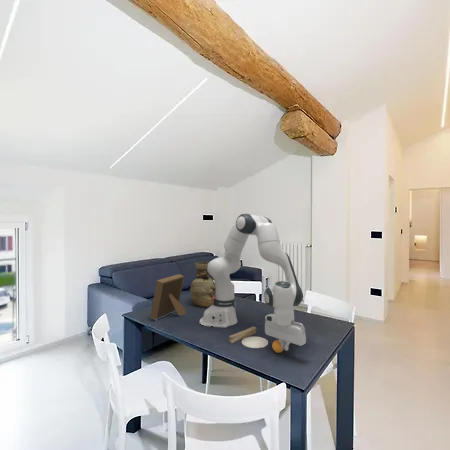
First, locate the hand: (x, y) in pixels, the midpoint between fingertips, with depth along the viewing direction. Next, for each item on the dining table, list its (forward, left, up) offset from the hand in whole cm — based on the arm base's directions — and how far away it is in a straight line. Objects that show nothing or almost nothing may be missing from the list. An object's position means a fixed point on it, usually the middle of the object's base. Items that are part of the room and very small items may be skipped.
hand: (285, 349), depth 129 cm
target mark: (-13, +13, -3) cm, 18 cm away
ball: (-3, +3, 0) cm, 4 cm away
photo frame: (-64, +50, -3) cm, 81 cm away
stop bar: (-19, +19, -3) cm, 26 cm away
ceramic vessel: (-46, +76, -3) cm, 89 cm away
